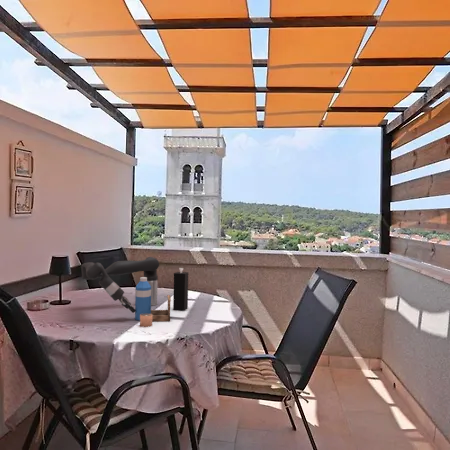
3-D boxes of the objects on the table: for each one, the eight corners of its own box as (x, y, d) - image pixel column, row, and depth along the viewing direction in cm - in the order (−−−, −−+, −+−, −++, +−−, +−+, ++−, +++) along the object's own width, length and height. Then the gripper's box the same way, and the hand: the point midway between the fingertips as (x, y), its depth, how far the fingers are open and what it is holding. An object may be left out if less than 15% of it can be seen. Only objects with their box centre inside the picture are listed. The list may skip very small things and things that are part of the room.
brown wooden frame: (145, 321, 252) (145, 300, 251) (145, 315, 266) (146, 295, 266) (170, 321, 254) (170, 299, 254) (169, 315, 269) (169, 295, 268)
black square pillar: (184, 311, 282) (185, 268, 281) (172, 310, 283) (173, 268, 282) (187, 308, 289) (188, 267, 288) (176, 307, 291) (177, 266, 290)
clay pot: (137, 325, 243) (137, 315, 243) (145, 323, 249) (145, 312, 249) (146, 327, 239) (146, 316, 239) (154, 324, 245) (154, 314, 245)
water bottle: (150, 320, 255) (151, 278, 254) (134, 320, 253) (135, 278, 253) (150, 316, 264) (151, 276, 263) (135, 316, 263) (136, 276, 262)
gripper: (110, 293, 260) (130, 313, 263) (108, 297, 247) (129, 318, 250) (120, 285, 261) (139, 305, 263) (118, 288, 248) (138, 309, 250)
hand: (134, 311), depth 256 cm, fingers closed
